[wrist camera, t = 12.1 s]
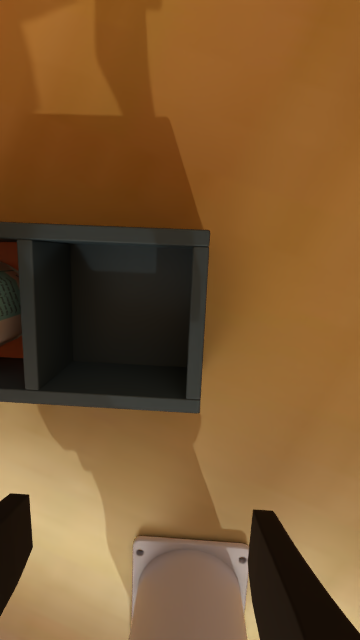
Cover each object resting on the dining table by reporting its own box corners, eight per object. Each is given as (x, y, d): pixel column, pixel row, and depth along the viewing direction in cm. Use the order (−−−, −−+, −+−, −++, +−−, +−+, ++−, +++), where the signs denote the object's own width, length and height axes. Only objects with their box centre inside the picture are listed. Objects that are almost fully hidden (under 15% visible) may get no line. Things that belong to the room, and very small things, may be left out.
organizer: (198, 375, 20) (199, 413, 15) (-53, 361, 21) (-130, 394, 16) (206, 236, 19) (210, 229, 14) (-67, 226, 19) (-157, 215, 14)
